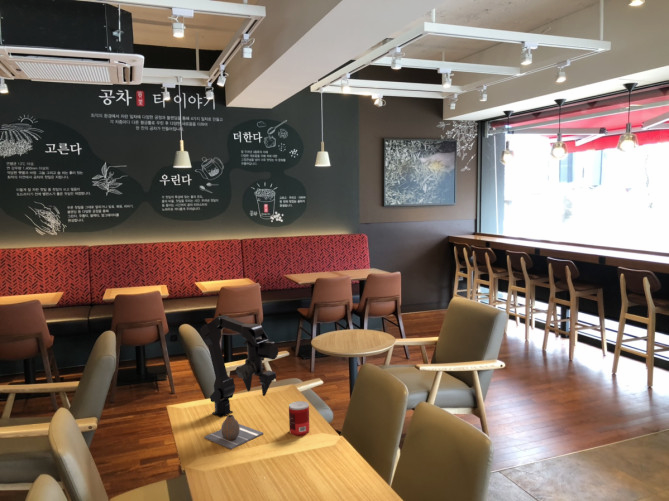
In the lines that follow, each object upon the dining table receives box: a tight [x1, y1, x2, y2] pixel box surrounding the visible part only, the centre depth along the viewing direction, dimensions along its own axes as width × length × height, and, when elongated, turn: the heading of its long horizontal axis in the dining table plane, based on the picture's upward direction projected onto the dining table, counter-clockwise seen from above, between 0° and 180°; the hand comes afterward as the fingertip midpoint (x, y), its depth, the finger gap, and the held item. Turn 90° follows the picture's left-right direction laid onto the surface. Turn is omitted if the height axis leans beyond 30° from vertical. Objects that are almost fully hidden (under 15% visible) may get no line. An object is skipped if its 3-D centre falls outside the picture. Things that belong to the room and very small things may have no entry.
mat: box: [203, 423, 264, 450], centre depth 204 cm, size 16×16×1 cm
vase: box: [220, 414, 240, 440], centre depth 200 cm, size 7×7×9 cm
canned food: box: [288, 400, 310, 437], centre depth 206 cm, size 8×8×11 cm
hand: (256, 393), depth 215 cm, fingers open, 9 cm apart
